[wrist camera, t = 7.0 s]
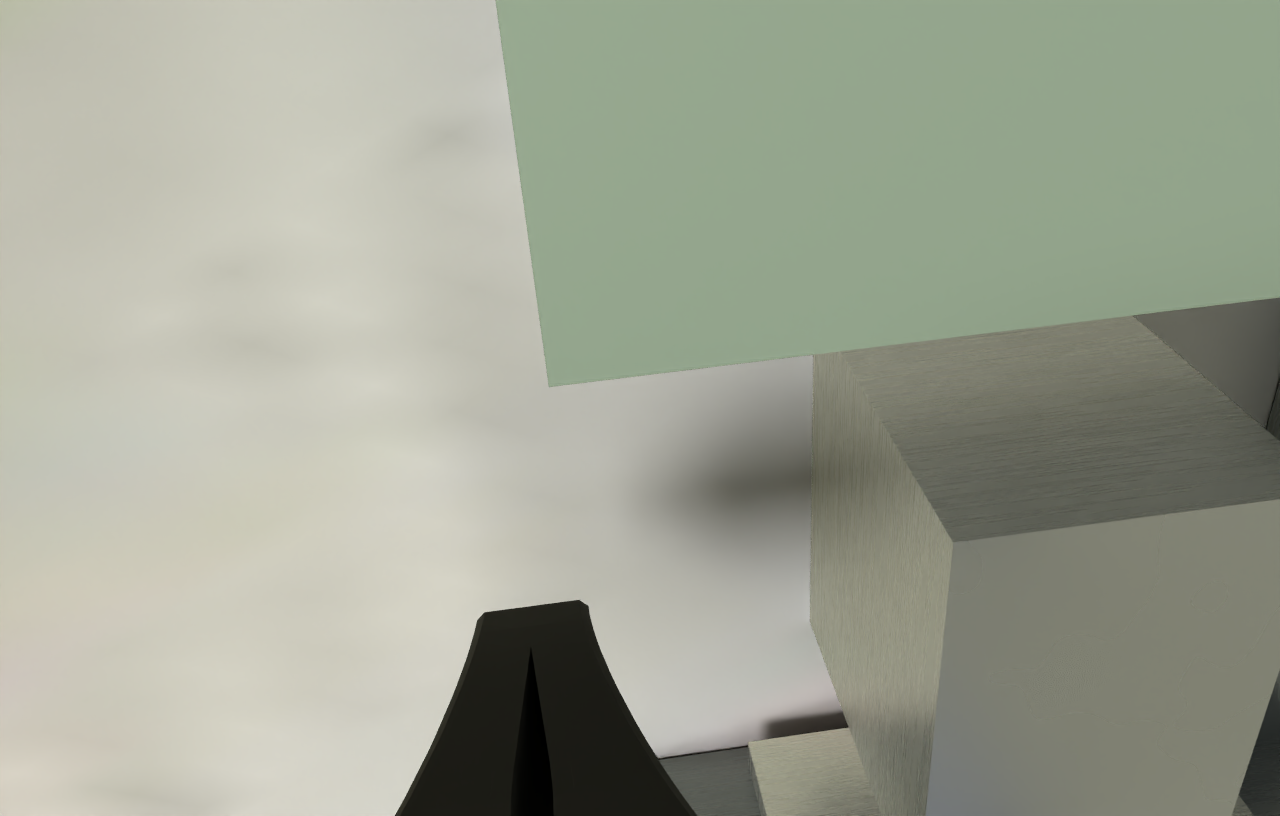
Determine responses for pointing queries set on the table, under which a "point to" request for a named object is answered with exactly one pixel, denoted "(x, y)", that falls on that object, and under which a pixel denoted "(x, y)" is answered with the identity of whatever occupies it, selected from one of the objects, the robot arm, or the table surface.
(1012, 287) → the block
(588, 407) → the table surface
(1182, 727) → the steel block
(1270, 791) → the vise frame
